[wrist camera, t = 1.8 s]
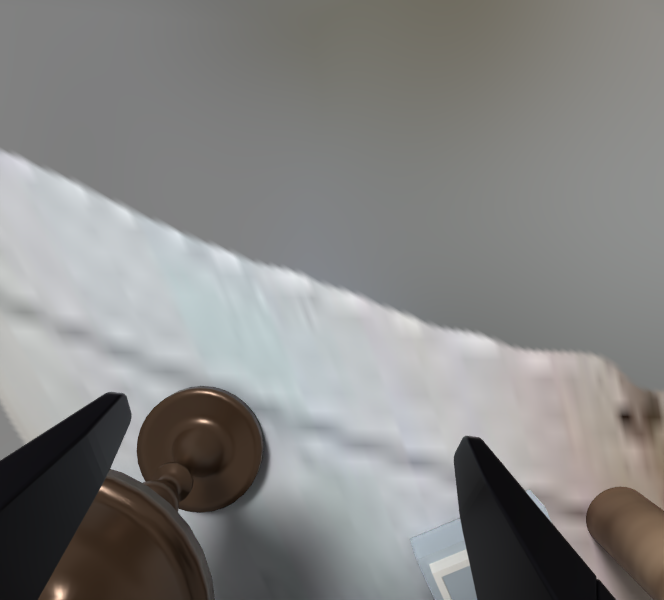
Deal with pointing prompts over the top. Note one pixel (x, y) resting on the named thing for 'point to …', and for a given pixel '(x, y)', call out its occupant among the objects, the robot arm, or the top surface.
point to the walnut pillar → (631, 535)
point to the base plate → (449, 560)
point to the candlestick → (163, 503)
